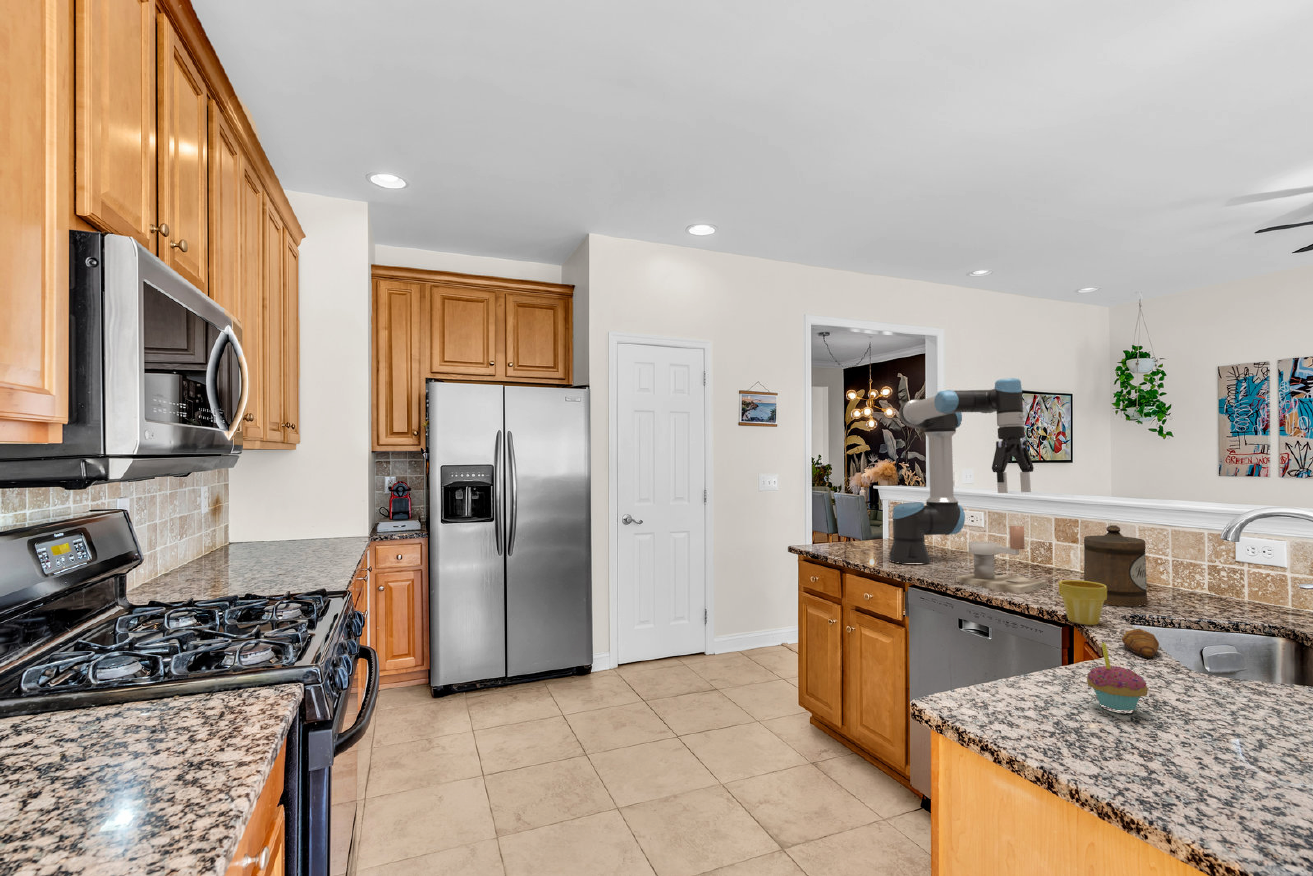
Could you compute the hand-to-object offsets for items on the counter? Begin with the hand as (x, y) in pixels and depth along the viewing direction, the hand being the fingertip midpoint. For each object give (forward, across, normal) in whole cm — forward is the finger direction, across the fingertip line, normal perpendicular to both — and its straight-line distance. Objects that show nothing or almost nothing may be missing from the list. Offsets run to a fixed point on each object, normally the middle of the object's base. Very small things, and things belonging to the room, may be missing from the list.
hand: (1014, 492), depth 203 cm
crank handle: (+20, 0, +7) cm, 21 cm away
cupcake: (+36, -78, -58) cm, 104 cm away
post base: (+30, +2, +8) cm, 31 cm away
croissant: (+34, -39, -47) cm, 70 cm away
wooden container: (+32, +7, -23) cm, 40 cm away
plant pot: (+33, -24, -29) cm, 50 cm away
